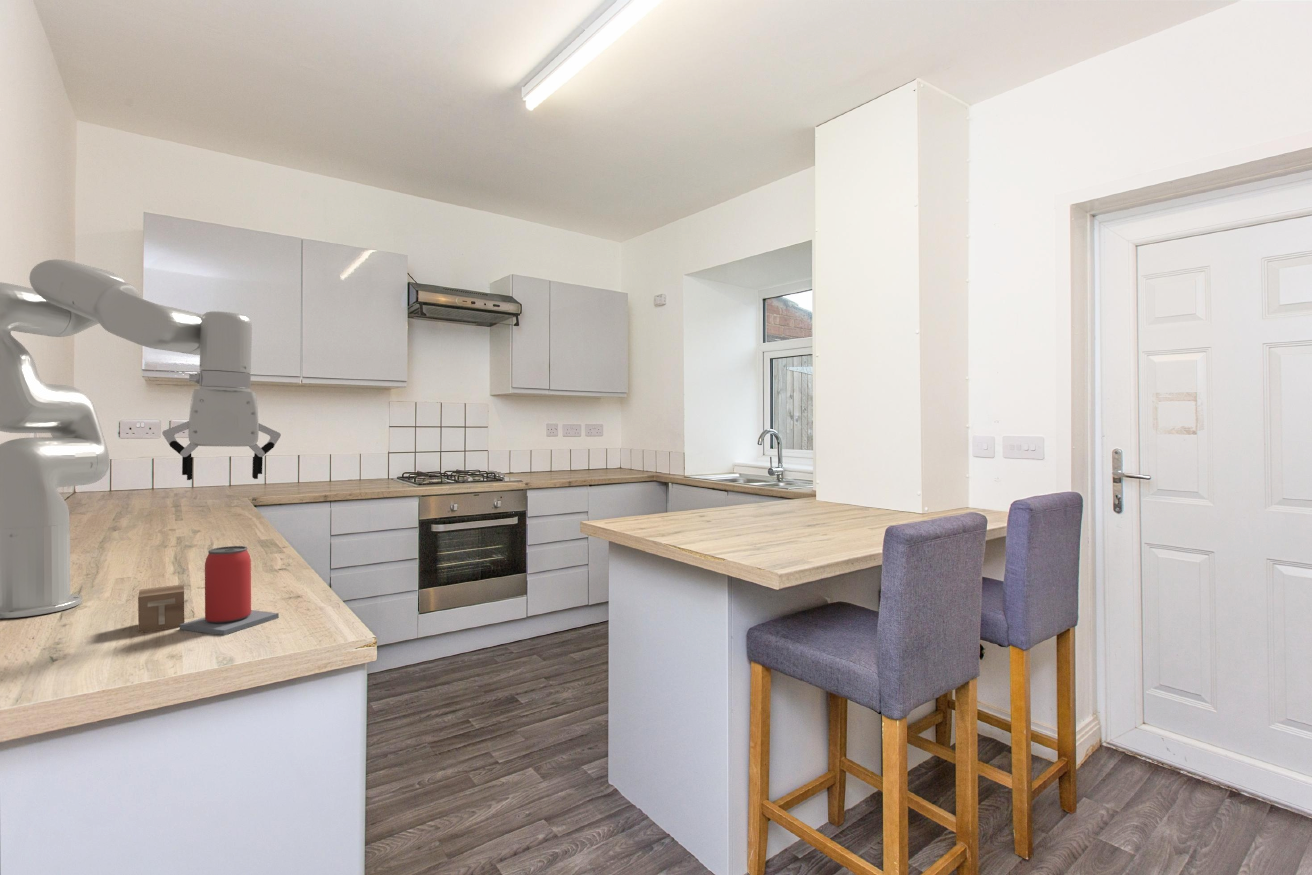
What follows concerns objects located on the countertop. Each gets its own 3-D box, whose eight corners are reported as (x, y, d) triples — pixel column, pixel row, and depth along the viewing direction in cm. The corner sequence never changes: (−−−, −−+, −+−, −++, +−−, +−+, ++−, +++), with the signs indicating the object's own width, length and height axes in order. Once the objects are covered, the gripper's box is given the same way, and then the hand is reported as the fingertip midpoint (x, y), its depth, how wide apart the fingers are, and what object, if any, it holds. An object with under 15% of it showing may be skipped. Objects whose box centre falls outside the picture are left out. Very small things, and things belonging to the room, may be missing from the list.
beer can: (228, 625, 104) (228, 553, 104) (194, 623, 105) (194, 551, 105) (260, 614, 110) (260, 546, 110) (228, 612, 111) (227, 544, 111)
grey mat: (179, 629, 104) (179, 624, 104) (236, 612, 114) (236, 608, 114) (224, 635, 101) (224, 630, 101) (278, 617, 111) (278, 613, 111)
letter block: (140, 624, 107) (139, 589, 107) (183, 617, 111) (183, 584, 111) (138, 633, 102) (138, 597, 102) (184, 626, 106) (184, 591, 106)
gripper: (162, 378, 103) (160, 481, 104) (283, 385, 114) (281, 479, 114) (164, 380, 109) (162, 478, 110) (279, 386, 120) (277, 476, 120)
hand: (223, 478), depth 112 cm, fingers open, 9 cm apart
